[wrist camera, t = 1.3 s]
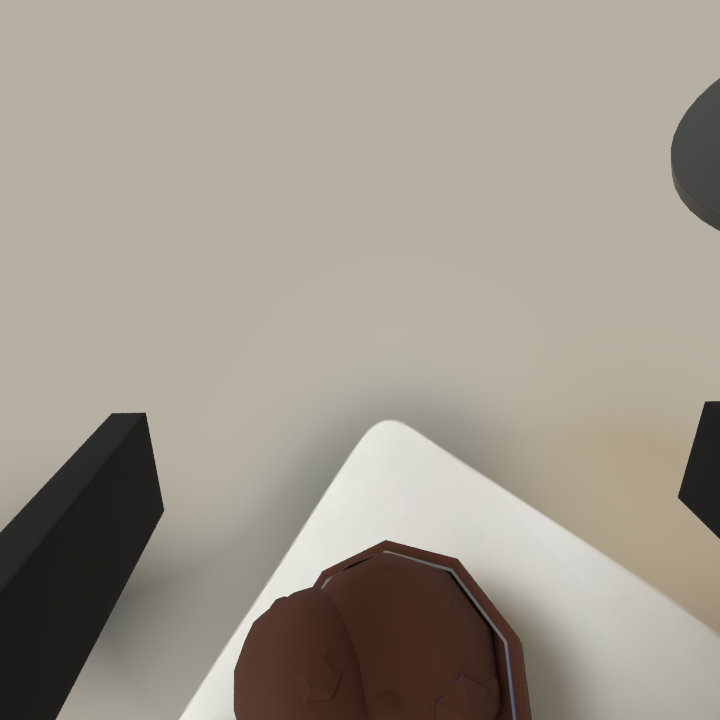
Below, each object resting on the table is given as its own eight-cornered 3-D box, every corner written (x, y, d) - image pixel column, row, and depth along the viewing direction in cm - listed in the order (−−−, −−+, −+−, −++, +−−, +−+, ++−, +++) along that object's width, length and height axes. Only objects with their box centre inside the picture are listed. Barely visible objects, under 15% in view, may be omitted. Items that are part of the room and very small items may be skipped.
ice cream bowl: (462, 912, 21) (222, 1101, 11) (345, 665, 29) (142, 635, 19) (640, 744, 21) (575, 768, 11) (473, 543, 29) (342, 444, 19)
